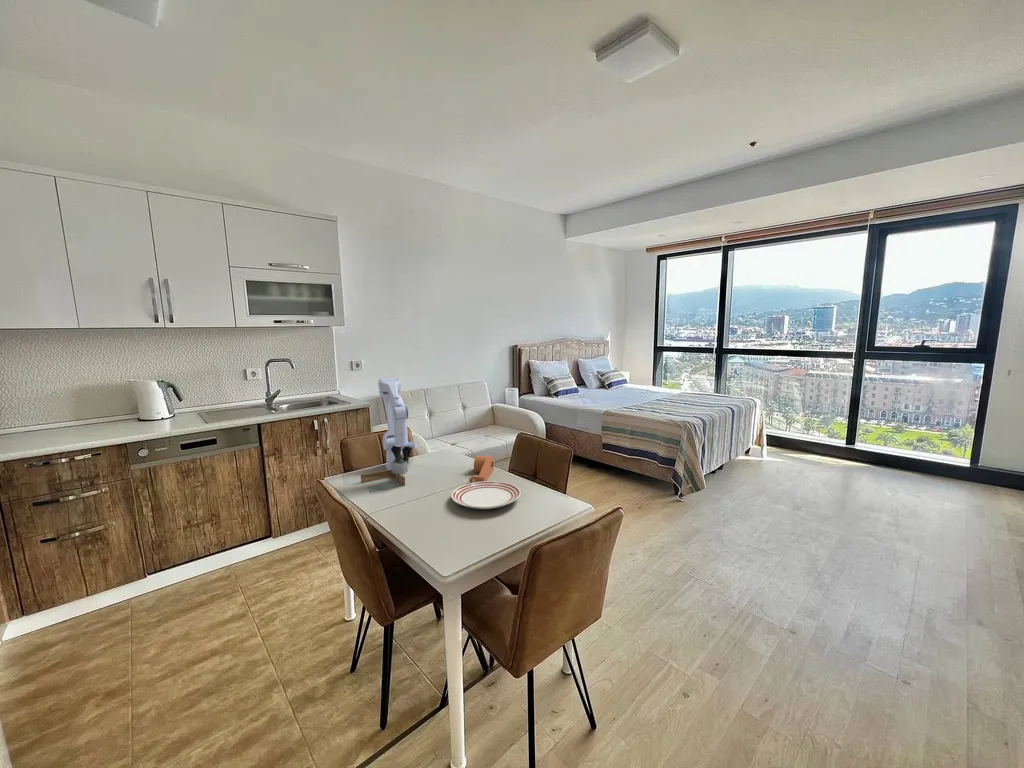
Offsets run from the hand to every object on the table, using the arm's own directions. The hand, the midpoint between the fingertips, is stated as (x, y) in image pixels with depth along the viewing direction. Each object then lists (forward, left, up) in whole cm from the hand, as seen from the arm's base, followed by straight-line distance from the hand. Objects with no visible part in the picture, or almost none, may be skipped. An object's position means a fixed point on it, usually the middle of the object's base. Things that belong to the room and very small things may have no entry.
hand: (402, 462), depth 178 cm
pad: (+2, -9, -8) cm, 12 cm away
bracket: (+1, -1, -2) cm, 2 cm away
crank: (+14, +32, -9) cm, 36 cm away
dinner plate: (+38, +23, -9) cm, 45 cm away
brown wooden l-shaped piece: (0, -9, -8) cm, 12 cm away
